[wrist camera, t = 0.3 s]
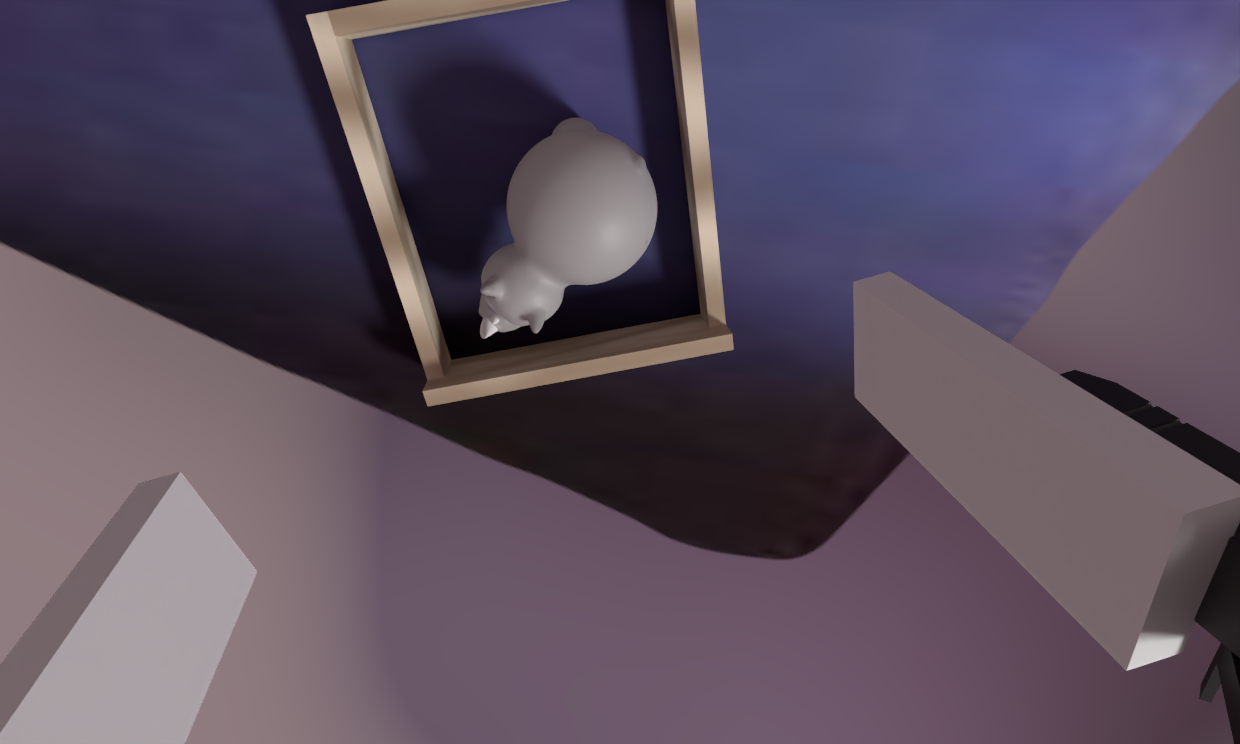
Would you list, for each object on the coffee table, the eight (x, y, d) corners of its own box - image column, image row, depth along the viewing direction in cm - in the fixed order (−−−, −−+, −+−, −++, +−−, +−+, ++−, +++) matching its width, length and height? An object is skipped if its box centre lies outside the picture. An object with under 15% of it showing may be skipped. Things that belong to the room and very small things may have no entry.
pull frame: (276, -129, 28) (38, -309, 15) (664, -199, 28) (748, -433, 15) (440, 377, 39) (381, 515, 26) (717, 325, 39) (792, 439, 27)
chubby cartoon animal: (437, 264, 36) (401, 314, 28) (572, 91, 33) (575, 93, 25) (536, 339, 39) (530, 404, 31) (671, 186, 36) (703, 214, 28)
